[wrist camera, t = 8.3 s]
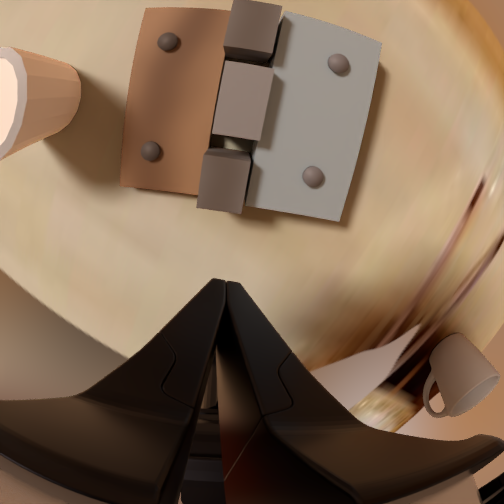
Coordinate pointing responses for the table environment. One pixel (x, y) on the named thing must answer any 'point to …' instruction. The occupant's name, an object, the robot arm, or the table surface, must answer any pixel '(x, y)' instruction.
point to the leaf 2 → (301, 115)
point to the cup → (459, 376)
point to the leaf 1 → (190, 100)
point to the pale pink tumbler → (34, 98)
